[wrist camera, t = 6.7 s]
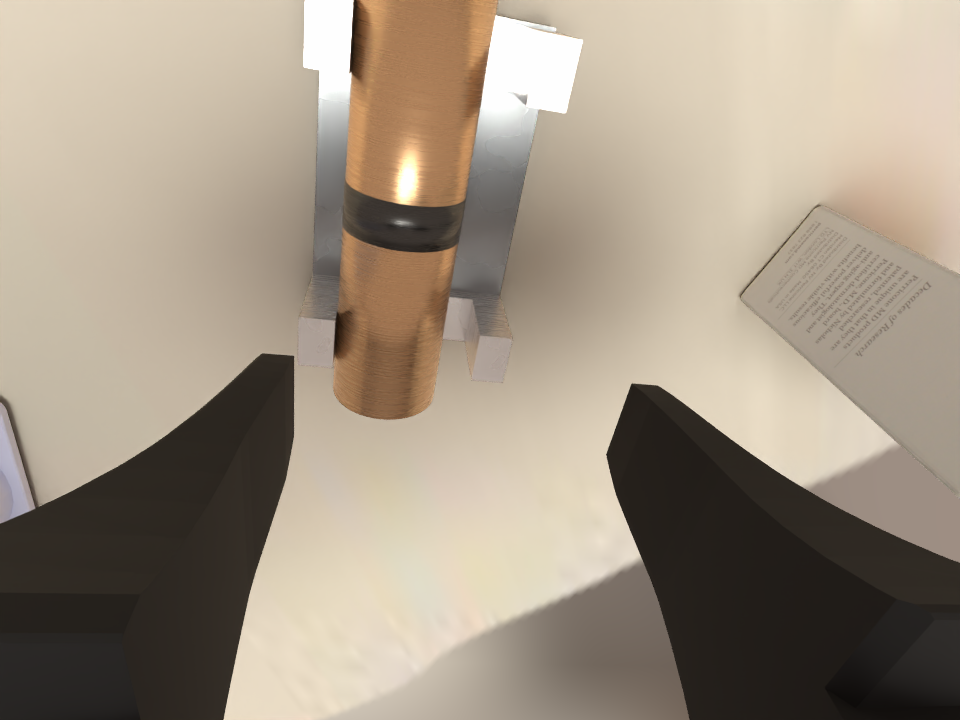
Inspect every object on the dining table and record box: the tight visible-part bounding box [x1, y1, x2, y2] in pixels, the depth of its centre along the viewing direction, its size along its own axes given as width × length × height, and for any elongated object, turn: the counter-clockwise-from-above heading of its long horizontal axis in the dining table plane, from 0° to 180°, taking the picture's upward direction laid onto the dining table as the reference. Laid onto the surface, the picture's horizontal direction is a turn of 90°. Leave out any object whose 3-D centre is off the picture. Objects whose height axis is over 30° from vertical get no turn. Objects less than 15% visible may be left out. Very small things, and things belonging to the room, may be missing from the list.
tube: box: [333, 0, 498, 419], centre depth 16 cm, size 12×3×3 cm, turn 170°
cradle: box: [298, 0, 583, 383], centre depth 17 cm, size 6×10×4 cm, turn 170°
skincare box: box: [741, 206, 960, 499], centre depth 17 cm, size 6×4×12 cm
